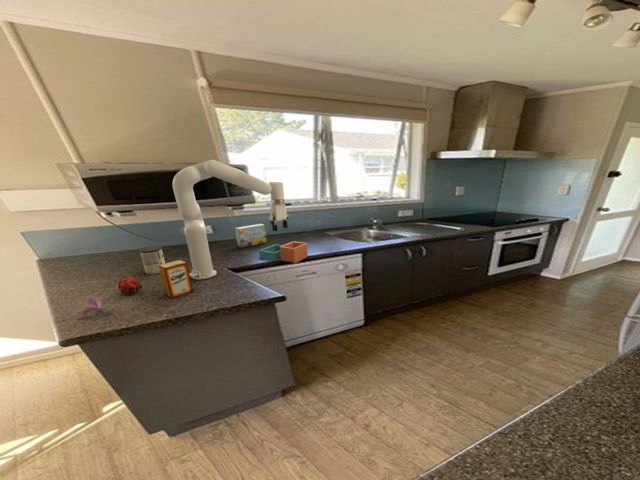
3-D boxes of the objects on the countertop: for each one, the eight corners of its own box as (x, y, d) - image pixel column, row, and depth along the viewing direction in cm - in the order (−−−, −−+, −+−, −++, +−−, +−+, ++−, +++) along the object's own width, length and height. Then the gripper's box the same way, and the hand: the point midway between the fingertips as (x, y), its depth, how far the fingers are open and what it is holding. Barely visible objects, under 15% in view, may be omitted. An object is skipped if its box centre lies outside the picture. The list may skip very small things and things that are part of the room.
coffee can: (144, 270, 170) (137, 248, 166) (165, 266, 177) (159, 244, 173) (146, 275, 163) (140, 252, 159) (168, 271, 170) (162, 248, 166)
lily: (118, 307, 131) (101, 291, 127) (124, 304, 123) (105, 287, 120) (88, 326, 122) (68, 309, 119) (92, 325, 115) (71, 307, 111)
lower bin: (276, 260, 189) (275, 252, 188) (259, 258, 194) (258, 250, 192) (291, 253, 204) (290, 246, 202) (276, 251, 208) (275, 244, 207)
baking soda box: (171, 298, 137) (163, 267, 132) (166, 294, 141) (158, 264, 136) (193, 291, 144) (186, 261, 139) (187, 288, 148) (180, 259, 143)
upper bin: (295, 263, 185) (293, 248, 182) (281, 261, 189) (279, 246, 186) (307, 256, 198) (306, 243, 195) (294, 255, 201) (293, 241, 198)
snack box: (241, 248, 215) (238, 228, 210) (237, 246, 218) (234, 227, 213) (266, 242, 231) (264, 224, 226) (263, 241, 234) (260, 223, 230)
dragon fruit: (131, 290, 148) (137, 301, 141) (111, 286, 141) (116, 297, 134) (141, 276, 149) (146, 286, 142) (121, 271, 142) (126, 281, 135)
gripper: (282, 200, 183) (284, 226, 188) (262, 203, 167) (265, 231, 173) (292, 200, 180) (293, 227, 186) (273, 204, 165) (275, 232, 170)
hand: (280, 229), depth 179 cm, fingers open, 9 cm apart
